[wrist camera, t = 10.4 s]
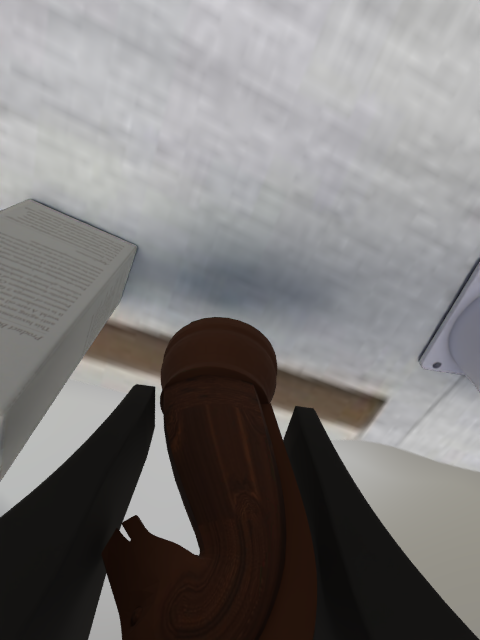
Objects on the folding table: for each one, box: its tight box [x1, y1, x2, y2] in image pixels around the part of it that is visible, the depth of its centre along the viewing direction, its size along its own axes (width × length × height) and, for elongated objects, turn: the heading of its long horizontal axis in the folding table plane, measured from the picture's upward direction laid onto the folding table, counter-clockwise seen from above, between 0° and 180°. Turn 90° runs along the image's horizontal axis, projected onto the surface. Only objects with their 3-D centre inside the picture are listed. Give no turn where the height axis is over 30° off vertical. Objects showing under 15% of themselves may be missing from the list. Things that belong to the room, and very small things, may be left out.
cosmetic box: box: [0, 199, 137, 481], centre depth 14 cm, size 6×4×12 cm
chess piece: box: [101, 317, 317, 640], centre depth 9 cm, size 5×5×10 cm
